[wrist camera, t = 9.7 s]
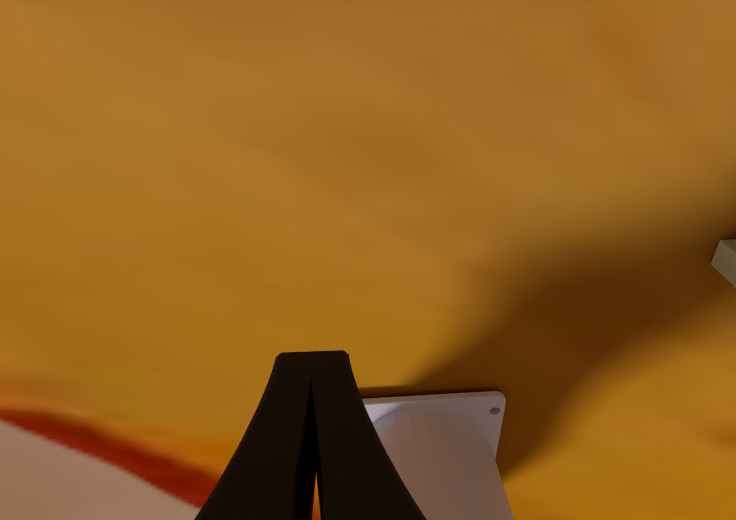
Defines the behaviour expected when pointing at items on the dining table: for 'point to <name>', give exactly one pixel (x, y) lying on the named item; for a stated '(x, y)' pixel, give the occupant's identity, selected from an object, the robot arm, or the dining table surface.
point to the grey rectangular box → (726, 260)
